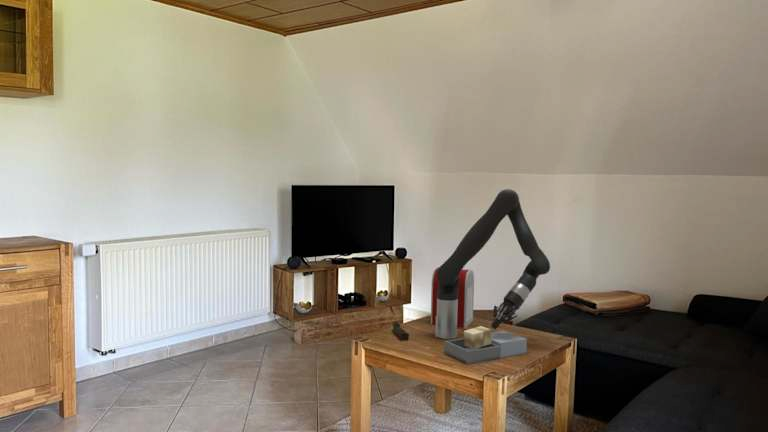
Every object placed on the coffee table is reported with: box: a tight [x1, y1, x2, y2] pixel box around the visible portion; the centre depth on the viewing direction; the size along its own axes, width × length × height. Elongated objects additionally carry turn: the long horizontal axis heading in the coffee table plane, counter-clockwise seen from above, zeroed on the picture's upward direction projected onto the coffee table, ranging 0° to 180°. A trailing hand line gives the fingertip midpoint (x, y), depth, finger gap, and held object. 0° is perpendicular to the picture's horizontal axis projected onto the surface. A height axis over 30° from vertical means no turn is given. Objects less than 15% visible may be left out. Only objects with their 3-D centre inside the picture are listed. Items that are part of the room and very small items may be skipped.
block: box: [463, 325, 492, 349], centre depth 243 cm, size 6×6×9 cm
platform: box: [491, 330, 528, 359], centre depth 250 cm, size 14×14×6 cm
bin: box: [443, 337, 501, 365], centre depth 243 cm, size 16×16×5 cm
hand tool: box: [392, 321, 410, 342], centre depth 272 cm, size 19×4×5 cm, turn 10°
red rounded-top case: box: [430, 266, 475, 329], centre depth 295 cm, size 16×18×27 cm
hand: (493, 327), depth 247 cm, fingers closed
